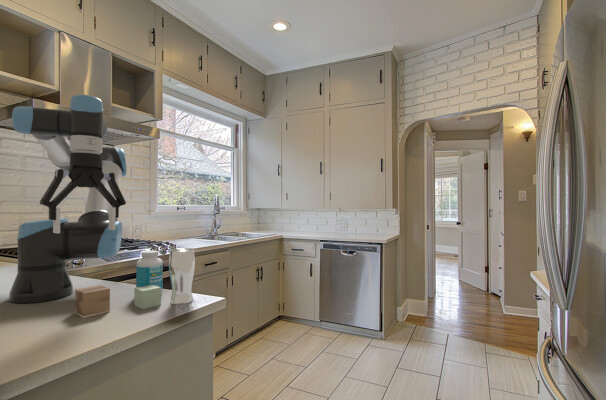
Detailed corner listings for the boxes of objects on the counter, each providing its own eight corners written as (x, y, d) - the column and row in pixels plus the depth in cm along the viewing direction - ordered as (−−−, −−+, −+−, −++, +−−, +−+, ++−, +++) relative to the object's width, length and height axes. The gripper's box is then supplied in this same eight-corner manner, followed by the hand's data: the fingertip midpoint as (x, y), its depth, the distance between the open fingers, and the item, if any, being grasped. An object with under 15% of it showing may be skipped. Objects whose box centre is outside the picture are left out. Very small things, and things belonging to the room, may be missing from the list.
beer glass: (183, 296, 102) (183, 247, 102) (199, 300, 98) (199, 248, 98) (163, 302, 96) (163, 250, 96) (180, 306, 92) (180, 251, 92)
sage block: (134, 306, 93) (134, 288, 93) (152, 301, 97) (152, 284, 97) (142, 309, 90) (143, 291, 90) (160, 305, 94) (161, 287, 94)
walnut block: (75, 312, 87) (75, 289, 87) (100, 307, 92) (100, 284, 92) (83, 318, 83) (83, 293, 83) (109, 311, 88) (109, 288, 88)
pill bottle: (152, 300, 99) (152, 253, 99) (130, 298, 100) (130, 252, 100) (167, 293, 106) (168, 250, 106) (146, 291, 107) (147, 249, 108)
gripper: (34, 145, 80) (33, 235, 80) (138, 157, 100) (138, 229, 100) (25, 148, 85) (24, 233, 85) (126, 159, 104) (126, 228, 104)
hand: (85, 231), depth 92 cm, fingers open, 13 cm apart
